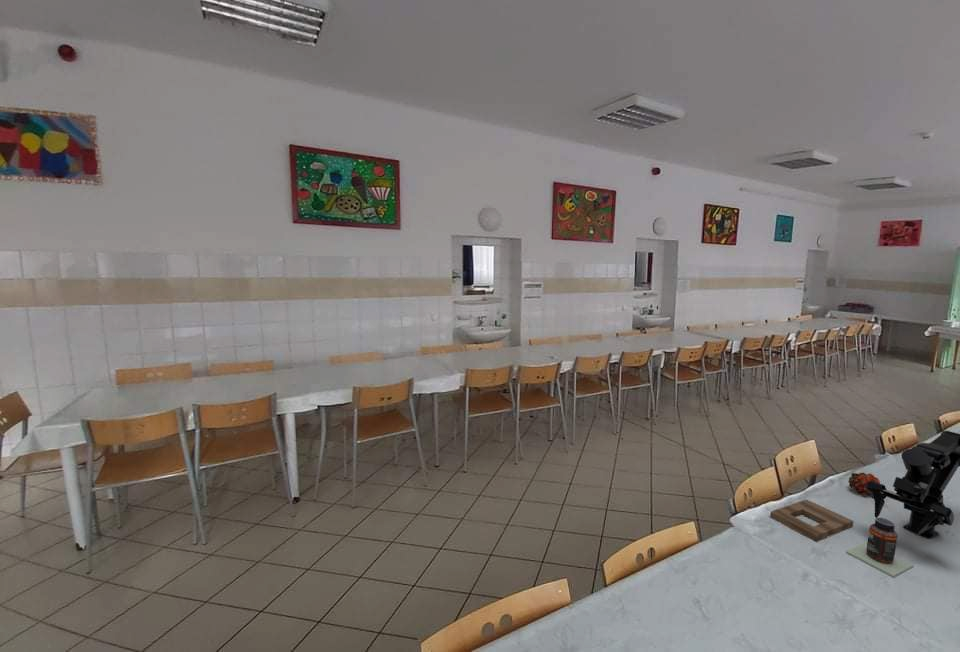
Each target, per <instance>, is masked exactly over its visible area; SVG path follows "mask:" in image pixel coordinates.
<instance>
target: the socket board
mask: <svg viewBox="0 0 960 652" xmlns="http://www.w3.org/2000/svg"><path fill="white" fill-rule="evenodd" d="M799 516H804V517H805V516H806V517H805V518H807V517H808V519H809V518H810V520H811V519H812V520H811V521H813V520H814V521H813V522H815V521H816V523H817V524H816V525H812V524H810V523H807V522H805V521H804V520H802V519H800V518H797V517H799ZM769 517H770V518H771V519H773V520H775V521H777V522H779V523H780V524H783V525H784V526H786V527H788V528H790V529H791V530H793V531H796V532H797V533H799V534H800V535H803V536H805V537H806V536H807V537H806V538H808V537H809V538H808V539H810V538H811V540H812V539H813V541H814V542H816V543H817V542H819V540H820V541H822V540H825V539H826V537H827V538H829V537H831V535H832V536H833V534H834V535H836V534H838V532H839V533H841V532H843V531H846V530H848V529H850V527H851V528H853V525H854V520H852V519H851V518H848V517H846V516H844V515H842V514H839V513H837V512H836V511H833V510H830V509H828V508H826V507H824V506H822V505H820V504H817V503H815V502H813V501H811V500H809V499H803V500H800V501H797V502H794V503H792V504H789V505H786V506H783V507H780V508H778V509H774V510H772V511H770V516H769ZM845 529H846V530H845ZM842 530H843V531H842ZM840 531H841V532H840ZM835 533H836V534H835ZM828 536H829V537H828Z"/></svg>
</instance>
